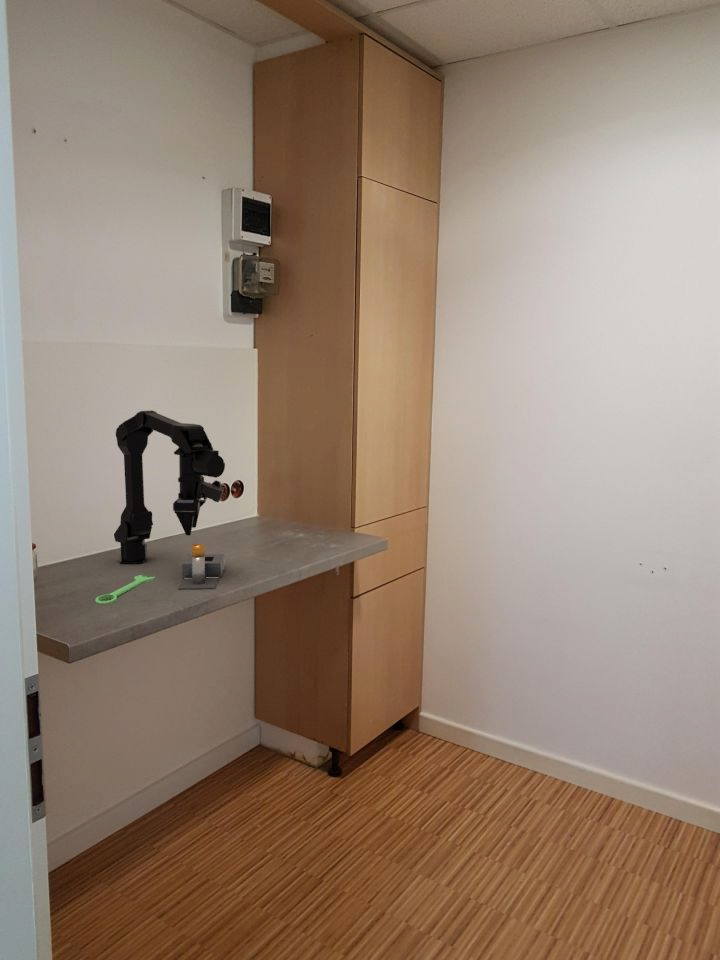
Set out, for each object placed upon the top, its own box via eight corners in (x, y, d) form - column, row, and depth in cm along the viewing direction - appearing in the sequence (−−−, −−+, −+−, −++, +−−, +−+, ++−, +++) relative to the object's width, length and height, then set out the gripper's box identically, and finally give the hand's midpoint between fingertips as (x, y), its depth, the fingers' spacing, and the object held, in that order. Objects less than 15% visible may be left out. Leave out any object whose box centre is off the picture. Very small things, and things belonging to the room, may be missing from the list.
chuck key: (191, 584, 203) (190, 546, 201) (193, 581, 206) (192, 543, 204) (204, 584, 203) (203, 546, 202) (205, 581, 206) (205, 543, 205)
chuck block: (182, 578, 210) (182, 563, 209) (188, 569, 220) (187, 554, 219) (220, 578, 211) (220, 563, 210) (224, 568, 221) (224, 554, 220)
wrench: (158, 581, 211) (140, 580, 212) (158, 574, 211) (139, 573, 212) (111, 607, 187) (90, 605, 188) (111, 599, 187) (90, 597, 188)
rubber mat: (178, 589, 200) (178, 588, 200) (183, 580, 209) (183, 578, 208) (214, 589, 200) (214, 587, 200) (218, 579, 209) (218, 578, 209)
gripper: (217, 479, 199) (217, 540, 202) (225, 468, 218) (225, 524, 220) (172, 478, 199) (173, 539, 201) (184, 467, 217) (185, 523, 219)
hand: (191, 531), depth 210 cm, fingers open, 9 cm apart
